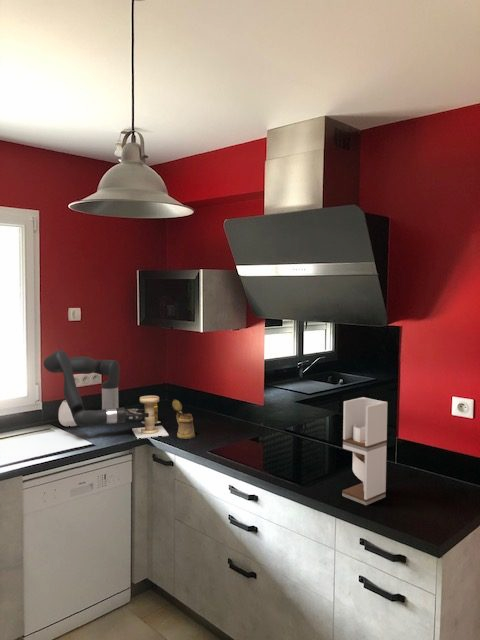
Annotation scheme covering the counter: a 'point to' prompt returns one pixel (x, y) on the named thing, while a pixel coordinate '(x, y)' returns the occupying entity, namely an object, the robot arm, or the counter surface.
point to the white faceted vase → (66, 415)
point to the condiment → (155, 413)
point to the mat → (140, 435)
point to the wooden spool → (149, 409)
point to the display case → (366, 447)
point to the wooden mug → (183, 422)
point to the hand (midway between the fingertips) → (147, 412)
